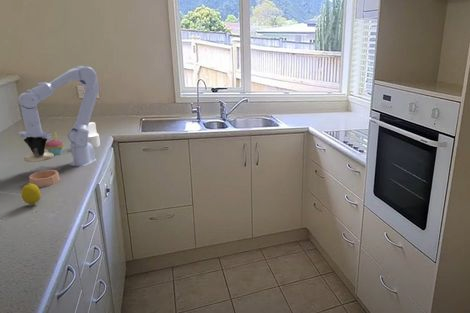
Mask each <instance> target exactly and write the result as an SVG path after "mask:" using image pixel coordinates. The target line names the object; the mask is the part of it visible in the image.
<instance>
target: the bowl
mask: <svg viewBox="0 0 470 313" xmlns="http://www.w3.org/2000/svg"><path fill="white" fill-rule="evenodd" d="M28 180H29V183H30V184H35V185H36V186H37V187H38V188H43V187H48V186H52V185H55V184H56V183H58V182H59V181H60V175H59V171H56V170H45V171H40V172H36V173H34V174H31V175H30V176H28Z"/></svg>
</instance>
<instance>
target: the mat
mask: <svg viewBox="0 0 470 313" xmlns="http://www.w3.org/2000/svg"><path fill="white" fill-rule="evenodd" d="M62 169H64V167H59V166H58V167H57V166H47V165H45V166H44V165H41V166H38V167H36V168H34V169H33V168H32V169H31V170H29V171H26V172H24V173H22V174H20V177H21V176H23V177H29V176H30V175H31V174H34V173H36V172H40V171H45V170H56V171H57V172H59V171H60V170H62Z"/></svg>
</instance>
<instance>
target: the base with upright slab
mask: <svg viewBox="0 0 470 313" xmlns="http://www.w3.org/2000/svg"><path fill="white" fill-rule="evenodd" d="M88 129H89V133H88V137H89V141H88V143H91V144H92V146H93V148H94V149H95V148H97V147H100V146H101V141H100V135H99V133H98V132H97V125H96V122H93V121H91V122H90V121H89V124H88Z"/></svg>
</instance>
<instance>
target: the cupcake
mask: <svg viewBox="0 0 470 313" xmlns="http://www.w3.org/2000/svg"><path fill="white" fill-rule="evenodd" d="M63 147H64V142H63V141H61V140H59V139H57V130H56V129H55V131H54V139H52V140H49V141H46V144H45V150H46V151H47V152H51V153H53V154H54V156H58V155H61V154H62V149H63Z"/></svg>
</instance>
